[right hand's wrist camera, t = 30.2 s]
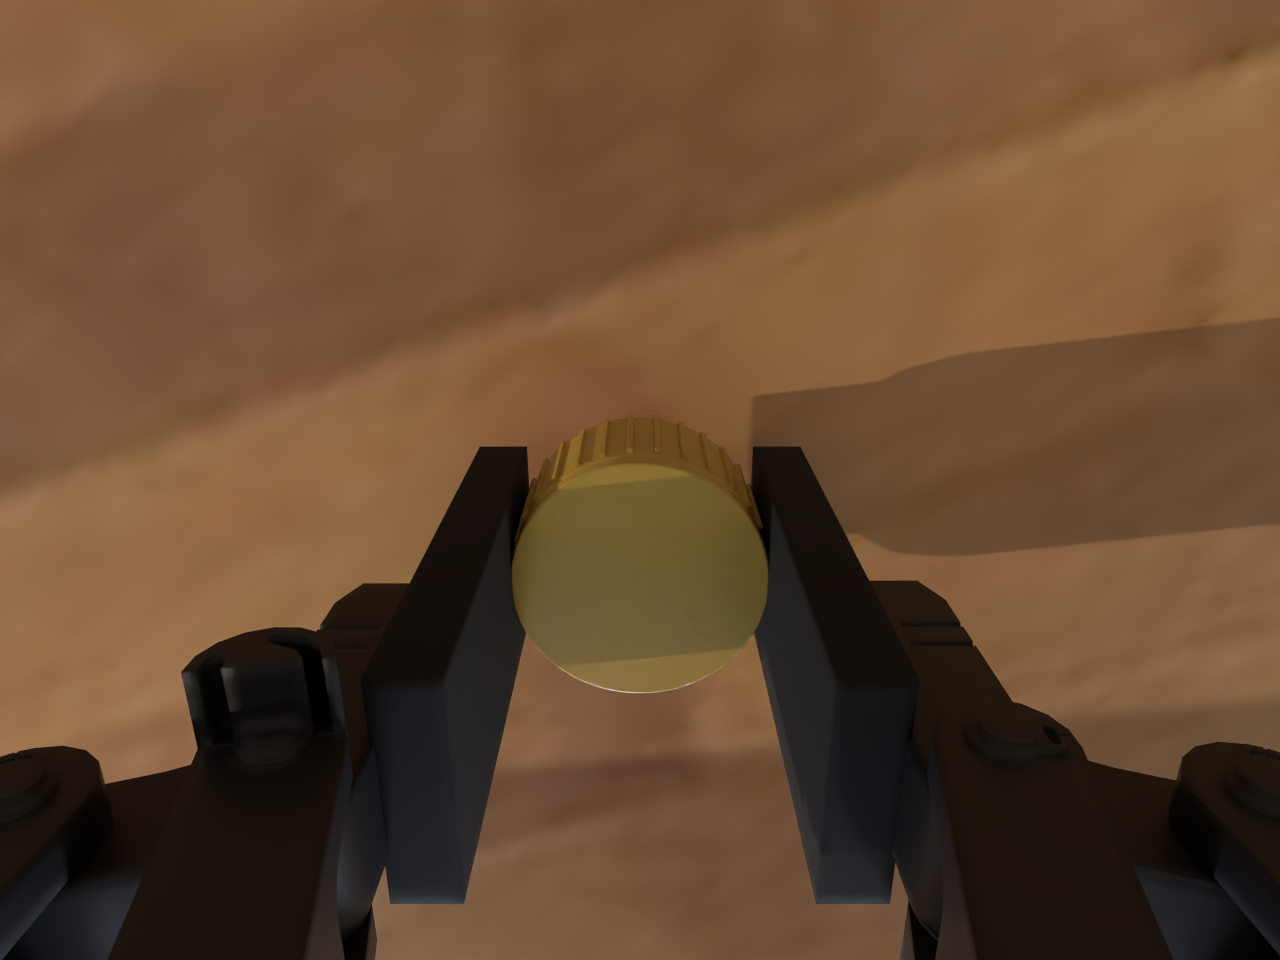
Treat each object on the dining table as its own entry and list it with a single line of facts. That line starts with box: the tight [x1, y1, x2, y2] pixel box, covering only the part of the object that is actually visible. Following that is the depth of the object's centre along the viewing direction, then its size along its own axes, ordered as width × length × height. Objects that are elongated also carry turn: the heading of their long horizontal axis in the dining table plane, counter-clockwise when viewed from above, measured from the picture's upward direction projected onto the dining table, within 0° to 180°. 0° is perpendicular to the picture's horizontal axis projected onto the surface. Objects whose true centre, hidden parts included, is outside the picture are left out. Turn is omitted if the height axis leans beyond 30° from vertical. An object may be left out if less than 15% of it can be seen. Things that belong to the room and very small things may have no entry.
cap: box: [511, 415, 769, 693], centre depth 13 cm, size 4×4×2 cm
